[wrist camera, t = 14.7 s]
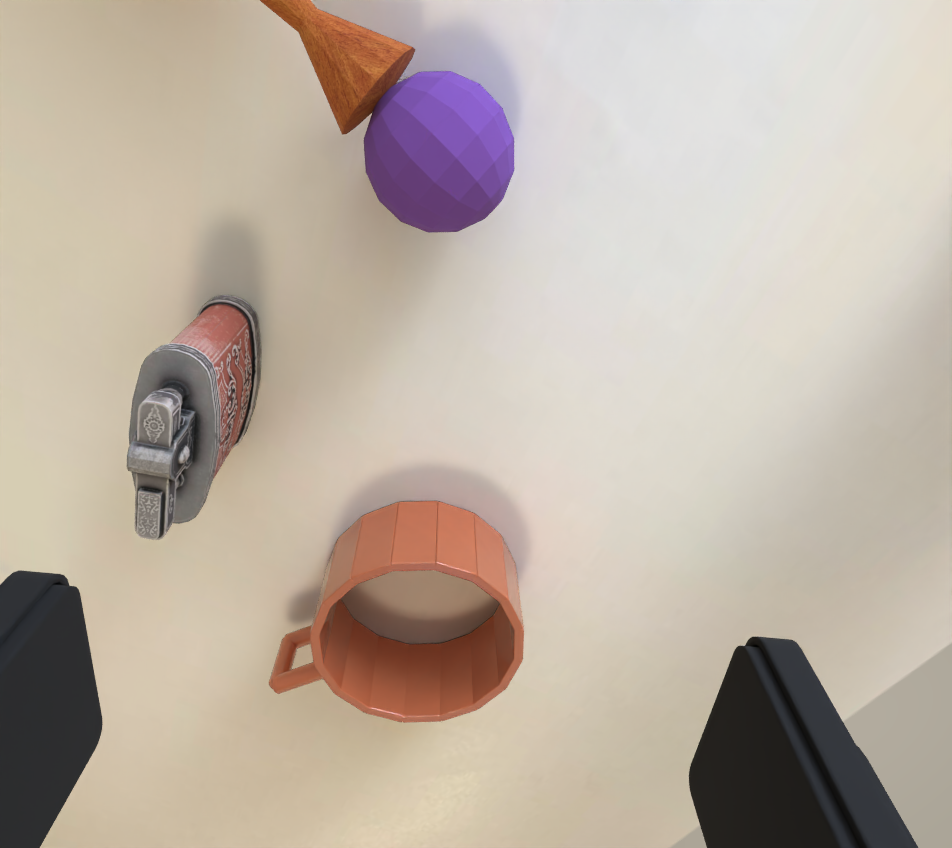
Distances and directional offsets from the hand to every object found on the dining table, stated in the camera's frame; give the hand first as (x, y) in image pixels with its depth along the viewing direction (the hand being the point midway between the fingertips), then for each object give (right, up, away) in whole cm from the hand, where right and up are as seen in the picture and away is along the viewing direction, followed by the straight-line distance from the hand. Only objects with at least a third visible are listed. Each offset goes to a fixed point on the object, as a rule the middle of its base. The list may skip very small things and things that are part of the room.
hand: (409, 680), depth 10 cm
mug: (-4, -6, +31) cm, 32 cm away
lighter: (-12, +6, +25) cm, 28 cm away
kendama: (-6, +20, +18) cm, 28 cm away
